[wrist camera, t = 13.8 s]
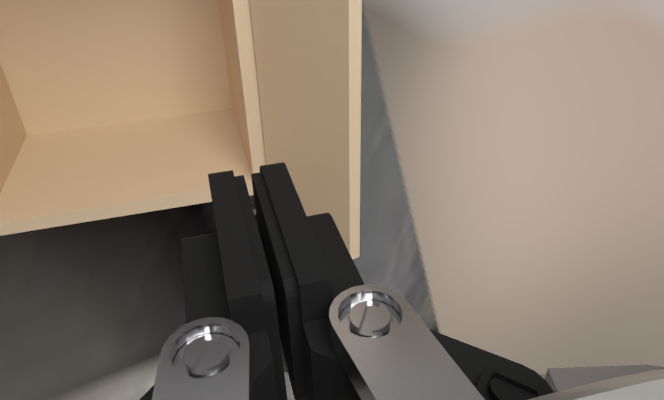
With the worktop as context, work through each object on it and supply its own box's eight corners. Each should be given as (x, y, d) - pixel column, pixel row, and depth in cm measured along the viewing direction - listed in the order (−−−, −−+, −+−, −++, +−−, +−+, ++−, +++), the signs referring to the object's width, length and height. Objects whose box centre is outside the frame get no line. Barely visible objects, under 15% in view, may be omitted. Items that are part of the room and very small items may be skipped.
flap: (269, 191, 32) (277, 188, 32) (349, 261, 26) (359, 256, 27) (226, -230, 21) (239, -229, 21) (347, -262, 15) (364, -260, 16)
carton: (-116, -210, 27) (-264, -243, 18) (204, -211, 30) (224, -239, 21) (20, 143, 38) (-26, 239, 29) (243, 114, 42) (268, 192, 32)
